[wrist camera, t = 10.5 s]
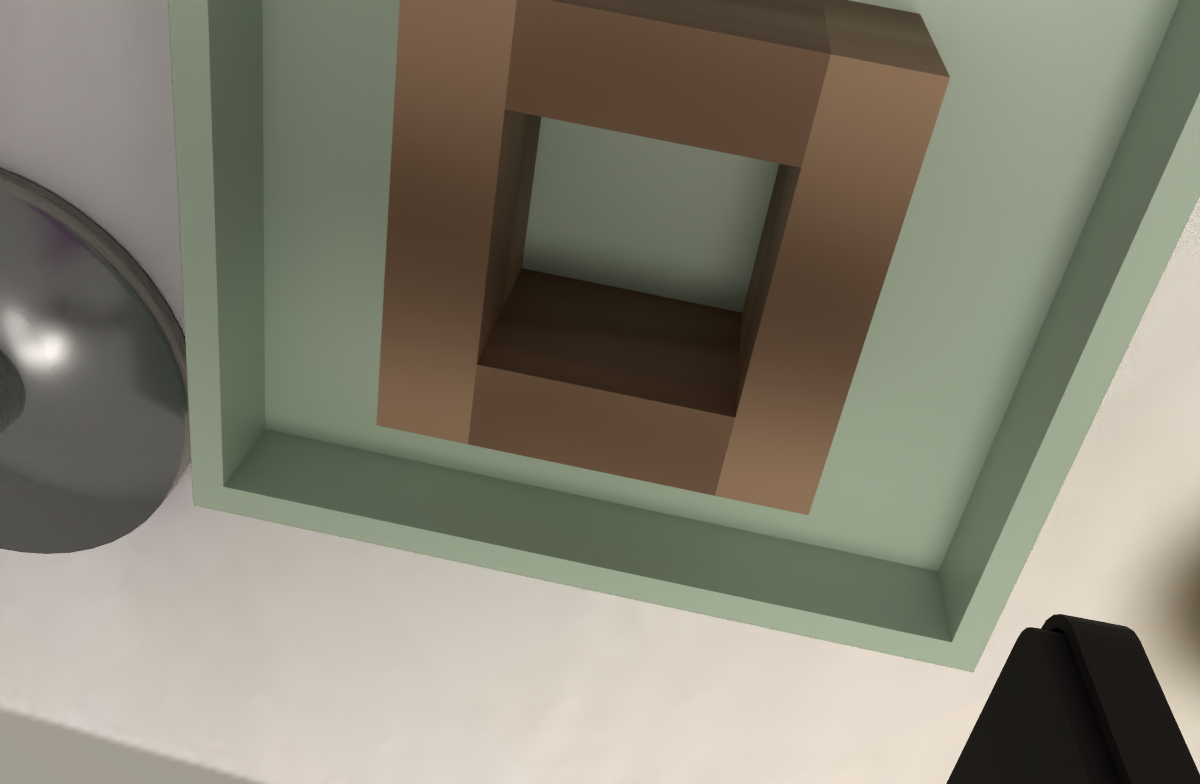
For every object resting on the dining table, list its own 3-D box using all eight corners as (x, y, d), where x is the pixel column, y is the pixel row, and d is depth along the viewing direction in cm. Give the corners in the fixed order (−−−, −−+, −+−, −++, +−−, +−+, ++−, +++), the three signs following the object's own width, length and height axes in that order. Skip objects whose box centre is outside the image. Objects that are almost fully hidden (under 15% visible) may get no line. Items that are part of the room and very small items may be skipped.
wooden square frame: (467, -73, 17) (401, -29, 14) (919, 13, 17) (950, 77, 14) (434, 324, 21) (376, 425, 18) (804, 400, 20) (808, 515, 17)
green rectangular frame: (246, 433, 23) (193, 505, 21) (231, -452, 15) (144, -479, 13) (955, 583, 23) (972, 672, 21) (1320, -253, 15) (1409, -247, 13)
